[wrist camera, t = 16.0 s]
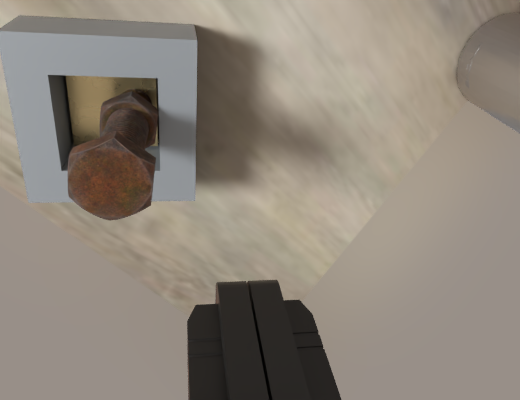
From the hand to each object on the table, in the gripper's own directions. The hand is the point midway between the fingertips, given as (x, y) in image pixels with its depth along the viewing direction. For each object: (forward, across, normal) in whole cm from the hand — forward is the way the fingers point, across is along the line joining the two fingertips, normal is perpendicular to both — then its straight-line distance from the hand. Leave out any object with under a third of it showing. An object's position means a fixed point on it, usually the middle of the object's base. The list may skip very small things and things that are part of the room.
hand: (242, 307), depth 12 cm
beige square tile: (+35, +7, +7) cm, 36 cm away
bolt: (+33, +5, +6) cm, 34 cm away
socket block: (+35, +7, +7) cm, 36 cm away
